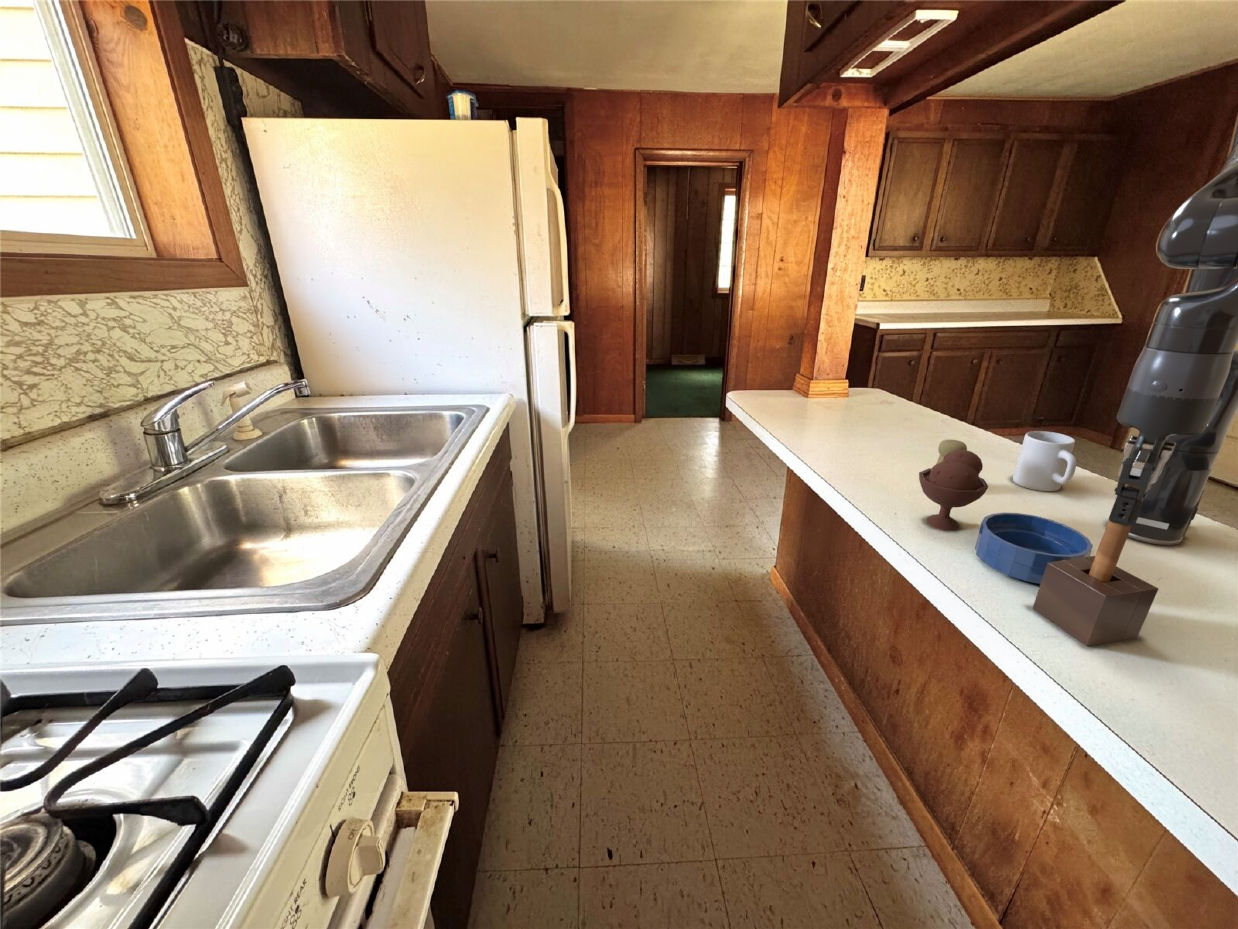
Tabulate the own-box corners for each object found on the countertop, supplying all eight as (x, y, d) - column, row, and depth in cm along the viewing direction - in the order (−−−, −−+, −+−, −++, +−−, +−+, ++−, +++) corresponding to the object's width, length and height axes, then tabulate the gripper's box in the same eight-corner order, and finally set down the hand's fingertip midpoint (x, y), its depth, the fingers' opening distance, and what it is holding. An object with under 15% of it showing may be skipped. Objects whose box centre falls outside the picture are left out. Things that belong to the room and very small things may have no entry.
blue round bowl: (1024, 538, 93) (1032, 508, 91) (1104, 583, 80) (1117, 550, 78) (954, 547, 91) (961, 517, 89) (1025, 595, 78) (1036, 561, 76)
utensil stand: (1078, 601, 76) (1095, 555, 73) (1137, 637, 69) (1159, 588, 66) (1032, 608, 75) (1047, 562, 72) (1086, 646, 68) (1106, 596, 65)
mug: (1003, 476, 118) (1015, 431, 113) (1040, 475, 117) (1054, 430, 113) (1043, 499, 106) (1058, 450, 102) (1084, 498, 106) (1101, 449, 102)
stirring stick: (1084, 608, 73) (1132, 479, 65) (1100, 618, 71) (1152, 486, 63) (1070, 610, 72) (1118, 481, 65) (1086, 620, 70) (1137, 488, 63)
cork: (930, 491, 112) (940, 444, 108) (925, 480, 117) (935, 435, 113) (962, 495, 110) (974, 447, 105) (956, 484, 115) (967, 438, 111)
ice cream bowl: (915, 505, 106) (930, 437, 100) (980, 521, 99) (999, 448, 93) (903, 526, 98) (918, 454, 93) (972, 544, 92) (992, 467, 86)
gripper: (1214, 405, 52) (1153, 550, 59) (1225, 382, 60) (1170, 512, 67) (1116, 393, 58) (1070, 527, 64) (1138, 373, 66) (1095, 494, 72)
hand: (1122, 519), depth 66 cm, fingers closed on stirring stick, 2 cm apart
